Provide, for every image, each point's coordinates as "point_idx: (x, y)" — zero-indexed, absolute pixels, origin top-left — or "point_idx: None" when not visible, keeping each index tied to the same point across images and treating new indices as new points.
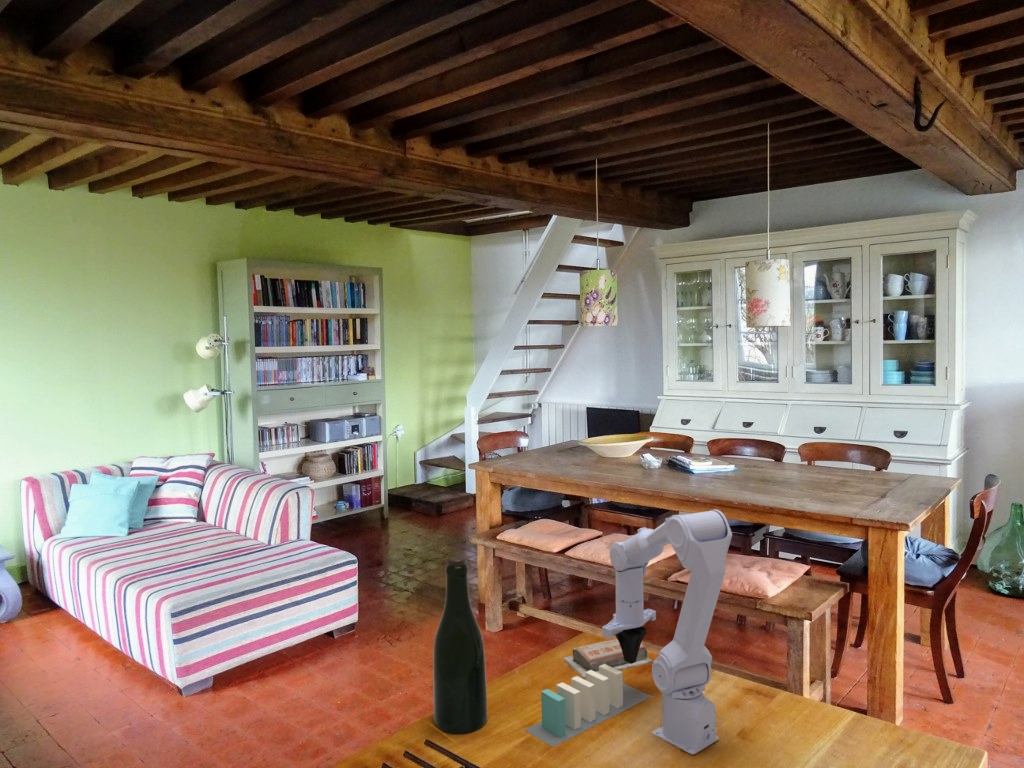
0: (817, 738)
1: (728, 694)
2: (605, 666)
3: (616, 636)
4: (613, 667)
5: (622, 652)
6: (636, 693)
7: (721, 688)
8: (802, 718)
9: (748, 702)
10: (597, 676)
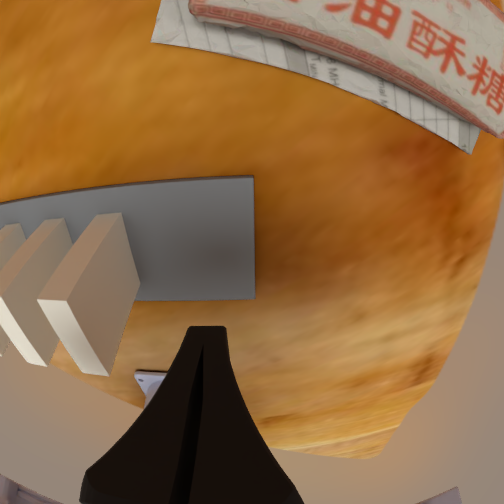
0: (331, 438)
1: (393, 359)
2: (61, 318)
3: (111, 453)
4: (331, 61)
5: (174, 360)
6: (230, 262)
7: (412, 341)
8: (371, 419)
9: (380, 384)
10: (15, 339)
